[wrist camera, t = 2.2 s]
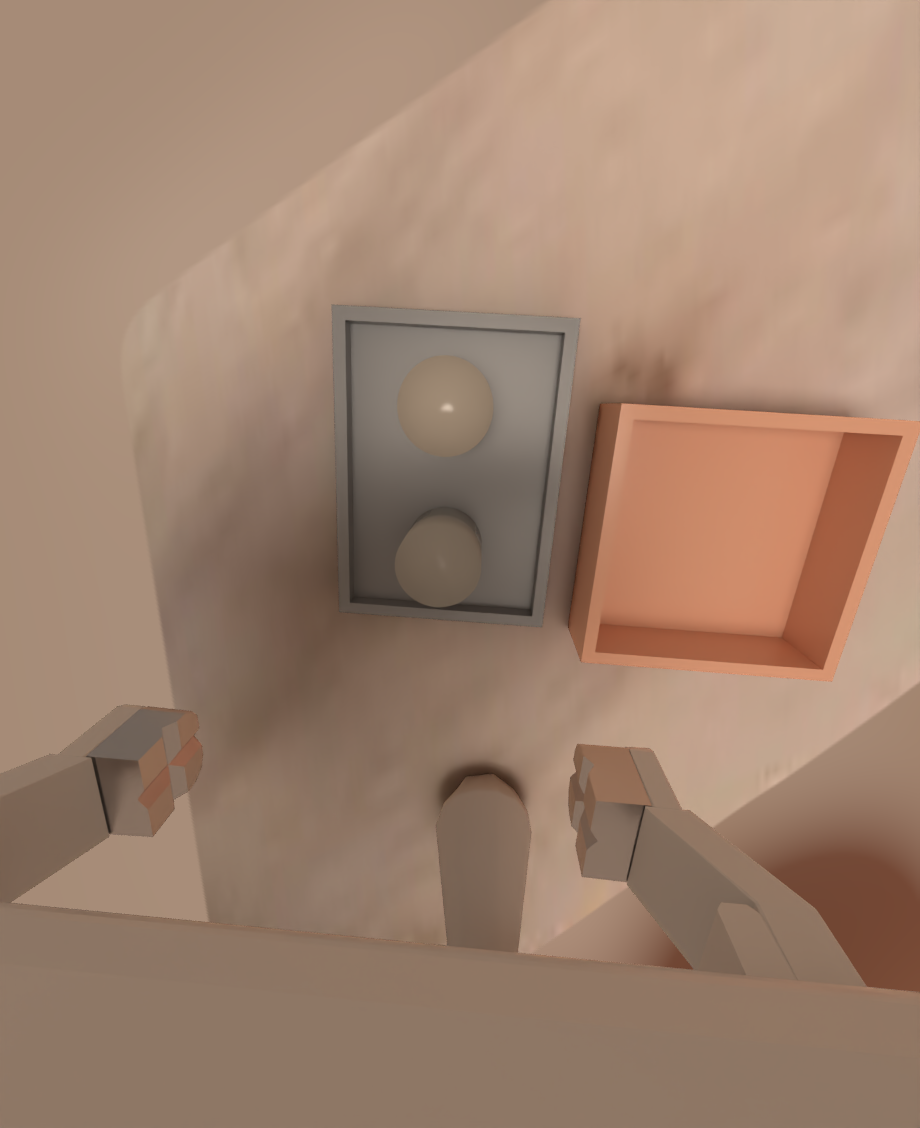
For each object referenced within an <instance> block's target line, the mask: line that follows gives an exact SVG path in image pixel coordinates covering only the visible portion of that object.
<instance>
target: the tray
mask: <svg viewBox="0 0 920 1128" xmlns="http://www.w3.org/2000/svg"><path fill="white" fill-rule="evenodd" d="M580 319H581V318H565V317H547V316H529V315H511V314H493V313H475V312H457V311H438V310H420V309H402V308H384V307H366V306H348V305H332V340H333V381H334V422H335V462H336V503H337V544H338V585H339V612H345V613H358V614H371V615H384V616H398V617H411V618H424V619H438V620H451V621H464V622H477V623H491V624H504V625H517V626H531V627H542V624H543V616H544V608H545V600H546V592H547V584H548V576H549V568H550V560H551V552H552V544H553V536H554V528H555V520H556V512H557V504H558V496H559V487H560V479H561V471H562V463H563V455H564V447H565V439H566V431H567V423H568V415H569V407H570V399H571V391H572V383H573V375H574V367H575V359H576V351H577V343H578V335H579V327H580ZM440 355H449V356H455V357H459V358H462V359H464V360H466V361H468V362H469V363H471V364H472V365H474V366H475V367H476V368H477V369H478V370H479V371H480V372H481V373H482V374H483V376H484V377H485V379H486V380H487V382H488V384H489V387H490V389H491V393H492V397H493V416H492V420H491V424H490V426H489V429H488V431H487V433H486V434H485V436H484V437H483V439H482V440H481V441H480V442H479V443H478V444H477V445H476V446H475V447H473V448H472V449H471V450H469V451H467V452H465V453H463V454H460V455H457V456H451V457H440V456H435V455H431V454H429V453H426V452H424V451H422V450H421V449H419V448H418V447H417V446H415V445H414V444H413V443H412V442H411V441H410V440H409V438H408V437H407V436H406V434H405V433H404V431H403V429H402V427H401V424H400V421H399V418H398V412H397V400H398V394H399V390H400V387H401V385H402V383H403V380H404V379H405V377H406V376H407V374H408V373H409V372H410V371H411V370H412V369H413V368H414V367H415V366H416V365H417V364H419V363H420V362H422V361H424V360H426V359H428V358H431V357H434V356H440ZM439 507H450V508H454V509H458V510H460V511H462V512H464V513H465V514H467V515H468V516H469V517H470V518H471V519H472V520H473V521H474V522H475V523H476V525H477V527H478V529H479V531H480V534H481V539H482V558H481V575H480V579H479V582H478V584H477V586H476V588H475V589H474V591H473V592H472V593H471V594H470V595H469V596H468V597H467V598H466V599H464V600H463V601H461V602H459V603H457V604H455V605H452V606H447V607H431V606H427V605H424V604H421V603H419V602H417V601H415V600H414V599H413V598H411V597H410V596H409V595H408V594H407V593H406V592H405V591H404V590H403V588H402V587H401V585H400V584H399V582H398V579H397V576H396V572H395V557H396V553H397V551H398V548H399V546H400V545H401V543H402V541H403V540H404V538H405V536H406V535H407V533H408V531H409V530H410V528H411V527H412V525H413V523H414V522H415V521H416V519H417V518H418V517H419V516H421V515H422V514H423V513H425V512H426V511H428V510H431V509H434V508H439Z"/></svg>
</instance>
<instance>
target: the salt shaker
mask: <svg viewBox="0 0 920 1128" xmlns="http://www.w3.org/2000/svg"><path fill="white" fill-rule="evenodd" d="M436 832H437V842H438V853H439V863H440V874H441V884H442V895H443V905H444V915H445V926H446V936H447V946H455V947H465V948H475V949H485V950H495V951H506V952H516V953H518V946H519V938H520V929H521V920H522V911H523V902H524V893H525V884H526V875H527V866H528V857H529V848H530V839H531V828H530V822H529V817H528V813H527V809H526V808H525V806H524V804H523V803H522V801H521V800H520V798H519V797H518V795H517V793H516V792H515V790H514V789H513V788H512V787H511V786H509V785H508V784H506V783H505V782H504V781H502V780H501V779H500V778H498V777H497V776H496V775H494V774H493V773H492V774H484V775H475V776H466V777H465V778H464V780H463V781H462V783H461V784H460V786H459V787H458V788H457V789H456V790H455V791H454V792H453V794H452V795H451V796H450V797H449V798H448V799H447V800H446V801H445V802H444V804H443V807H442V809H441V812H440V815H439V818H438V821H437V824H436Z"/></svg>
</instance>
